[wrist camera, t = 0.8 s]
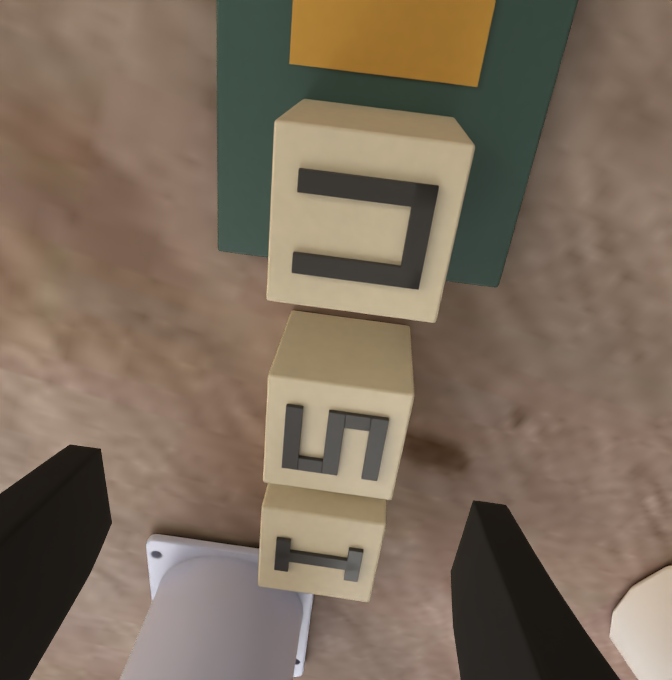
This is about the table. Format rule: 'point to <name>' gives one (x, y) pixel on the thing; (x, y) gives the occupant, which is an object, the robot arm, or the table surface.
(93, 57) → the table surface
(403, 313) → the U block
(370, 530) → the block
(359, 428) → the block
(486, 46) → the green board
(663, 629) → the inkwell
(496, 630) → the robot arm
